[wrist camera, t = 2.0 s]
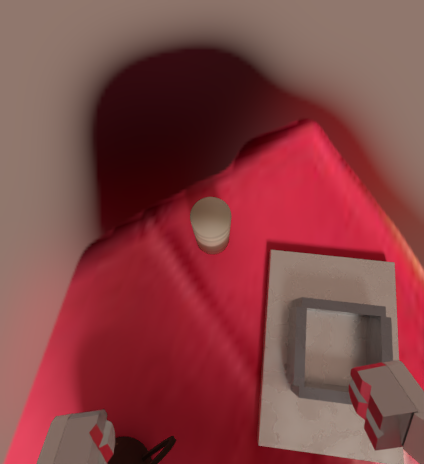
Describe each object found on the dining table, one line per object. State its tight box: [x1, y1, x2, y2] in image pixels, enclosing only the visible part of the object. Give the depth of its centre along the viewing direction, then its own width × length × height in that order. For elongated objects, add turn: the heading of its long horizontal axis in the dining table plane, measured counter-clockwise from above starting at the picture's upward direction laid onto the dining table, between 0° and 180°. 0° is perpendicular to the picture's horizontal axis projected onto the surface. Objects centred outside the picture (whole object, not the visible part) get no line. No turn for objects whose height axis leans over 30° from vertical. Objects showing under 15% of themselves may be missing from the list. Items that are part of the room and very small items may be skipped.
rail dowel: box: [190, 197, 231, 254], centre depth 34 cm, size 4×4×8 cm
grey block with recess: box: [257, 250, 404, 464], centre depth 32 cm, size 20×14×5 cm
